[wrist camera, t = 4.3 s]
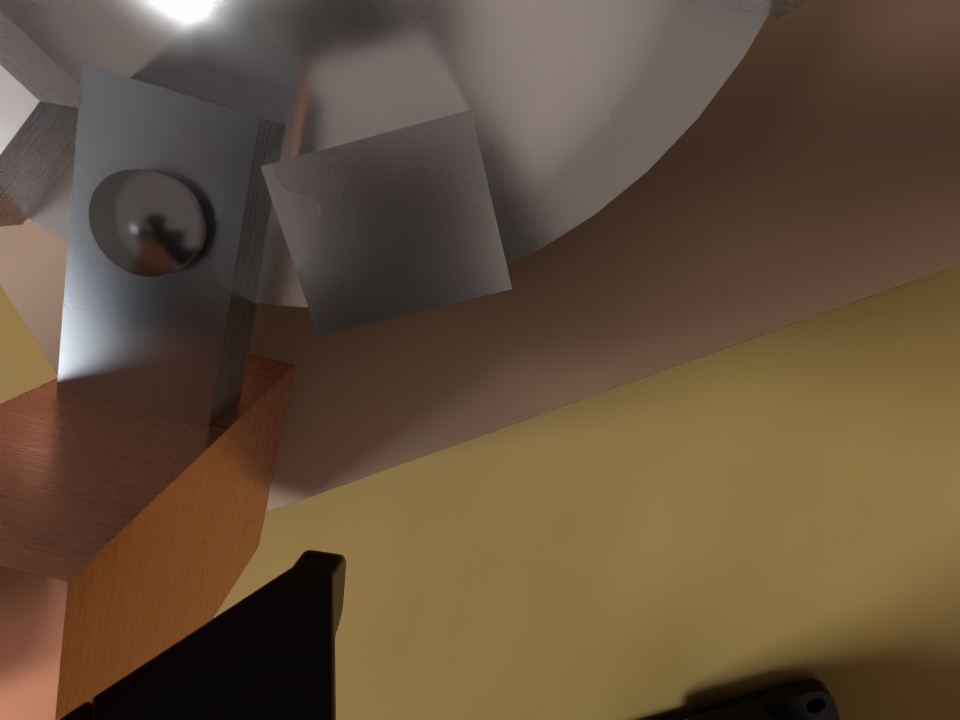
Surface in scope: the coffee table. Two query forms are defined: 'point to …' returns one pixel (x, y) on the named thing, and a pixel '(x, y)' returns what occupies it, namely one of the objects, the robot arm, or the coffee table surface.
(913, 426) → the coffee table surface
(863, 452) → the coffee table surface
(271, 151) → the round disc with cubes
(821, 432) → the coffee table surface
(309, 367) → the square disc baseplate
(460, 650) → the coffee table surface
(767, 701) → the robot arm
